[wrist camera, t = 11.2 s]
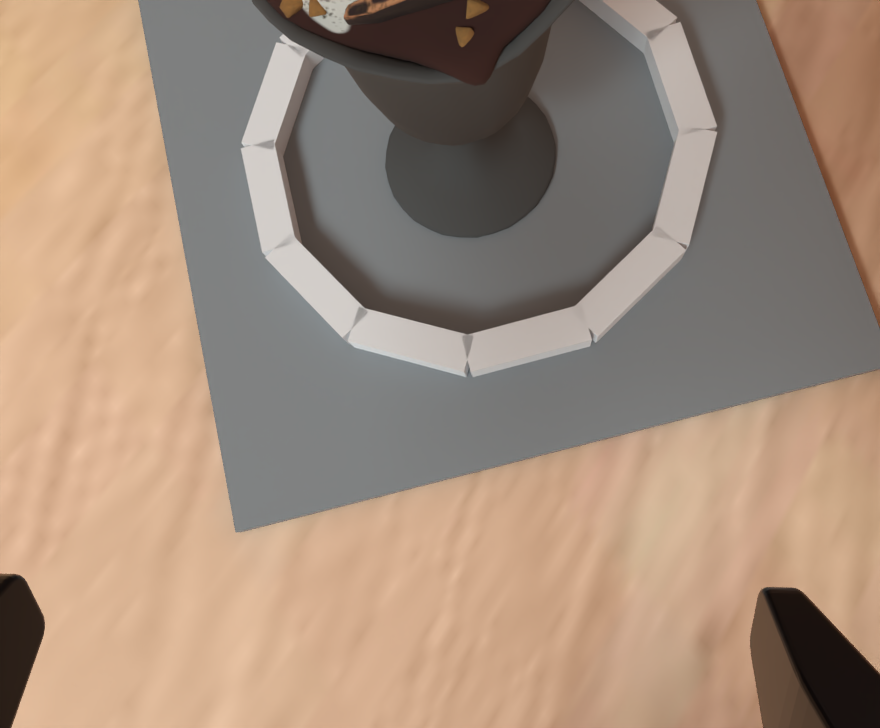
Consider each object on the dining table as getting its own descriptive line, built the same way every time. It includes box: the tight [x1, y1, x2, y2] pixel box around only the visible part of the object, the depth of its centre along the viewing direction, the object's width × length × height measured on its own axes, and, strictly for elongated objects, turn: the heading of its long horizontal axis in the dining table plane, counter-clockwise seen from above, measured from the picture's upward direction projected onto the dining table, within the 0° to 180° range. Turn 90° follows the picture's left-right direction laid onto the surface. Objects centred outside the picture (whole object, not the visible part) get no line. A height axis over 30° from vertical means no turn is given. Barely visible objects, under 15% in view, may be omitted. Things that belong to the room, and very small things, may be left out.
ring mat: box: [138, 0, 880, 532], centre depth 24 cm, size 18×18×1 cm
